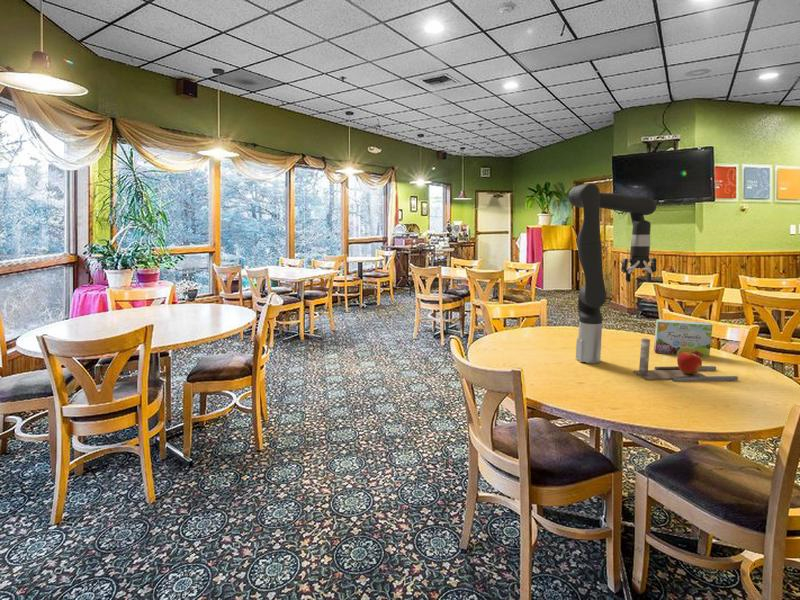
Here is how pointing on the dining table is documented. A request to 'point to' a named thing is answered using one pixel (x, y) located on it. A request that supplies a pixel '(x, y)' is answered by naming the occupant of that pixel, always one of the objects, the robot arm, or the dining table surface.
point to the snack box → (683, 337)
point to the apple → (689, 363)
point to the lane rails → (699, 378)
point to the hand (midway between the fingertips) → (637, 281)
